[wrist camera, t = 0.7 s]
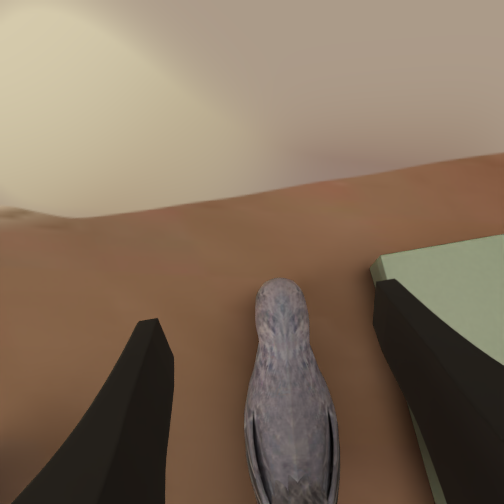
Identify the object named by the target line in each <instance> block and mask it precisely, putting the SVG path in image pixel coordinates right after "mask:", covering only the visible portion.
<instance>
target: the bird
mask: <svg viewBox="0 0 504 504" xmlns="http://www.w3.org/2000/svg"><path fill="white" fill-rule="evenodd" d="M255 322H256V329H257V333H258V337H259V344H258V349H257V355H256V360H255V365H254V369H253V372H252V375H251V379H250V382H249V387H248V393H247V399H246V404H245V411H244V431H245V446H246V457H247V463H248V469H249V475H250V478H251V482H252V486H253V490H254V493H255V497H256V501H257V504H337V500H338V490H339V480H340V447H339V435H338V424H337V418H336V412H335V407H334V404H333V401H332V398H331V395H330V392H329V389H328V387H327V384H326V382H325V379H324V377H323V376H322V374H321V372H320V370H319V368H318V365H317V362H316V360H315V357H314V354H313V351H312V349H311V346H310V344H309V316H308V310H307V306H306V301H305V298H304V295H303V292H302V290H301V289H300V287H299V286H298V285H297V284H296V283H295V282H294V281H292V280H290V279H286V278H274V279H271V280H269V281H267V282H265V283H264V284H263V285H262V286H261V288H260V289H259V291H258V293H257V295H256V305H255Z"/></svg>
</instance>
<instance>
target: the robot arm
mask: <svg viewBox="0 0 504 504" xmlns="http://www.w3.org/2000/svg"><path fill="white" fill-rule="evenodd" d="M373 326H374V329H375V332H376V335H377V338H378V341H379V344H380V346H381V349H382V352H383V354H384V356H385V358H386V360H387V362H388V364H389V366H390V368H391V371H392V373H393V375H394V377H395V379H396V381H397V383H398V385H399V387H400V389H401V391H402V393H403V395H404V397H405V399H406V401H407V403H408V405H409V407H410V409H411V411H412V413H413V415H414V417H415V420H416V422H417V424H418V426H419V429H420V431H421V434H422V437H423V439H424V442H425V445H426V447H427V450H428V452H429V455H430V458H431V461H432V463H433V466H434V469H435V472H436V474H437V477H438V480H439V483H440V485H441V488H442V491H443V494H444V497H445V500H446V503H447V504H504V365H503V364H501V363H500V362H498V361H496V360H495V359H493V358H492V357H490V356H489V355H488V354H486V353H485V352H483V351H482V350H480V349H479V348H478V347H476V346H475V345H474V344H472V343H471V342H470V341H468V340H467V339H466V338H464V337H463V336H462V335H460V334H459V333H458V332H456V331H455V330H454V329H453V328H451V327H450V326H449V325H448V324H446V323H445V322H444V321H443V320H442V319H440V318H439V317H438V316H437V315H436V314H434V313H433V312H432V311H431V310H430V309H429V308H427V307H426V306H425V305H424V304H423V303H422V302H421V301H420V300H418V299H417V298H416V297H415V296H414V295H413V294H412V293H411V292H410V291H408V290H407V289H406V288H405V287H404V286H403V285H402V284H401V283H400V282H399V281H398V280H396V279H395V278H394V279H388V280H382V281H376V289H375V301H374V314H373ZM173 392H174V356H173V354H172V351H171V349H170V347H169V344H168V342H167V339H166V337H165V335H164V332H163V330H162V328H161V325H160V323H159V320H158V318H155V319H149V320H143V321H139V322H138V323H137V325H136V327H135V329H134V331H133V333H132V335H131V337H130V339H129V341H128V342H127V344H126V346H125V348H124V350H123V352H122V354H121V356H120V357H119V359H118V361H117V363H116V365H115V366H114V368H113V370H112V372H111V373H110V375H109V377H108V378H107V380H106V382H105V384H104V385H103V387H102V388H101V390H100V391H99V393H98V395H97V396H96V398H95V399H94V401H93V402H92V404H91V406H90V407H89V409H88V410H87V412H86V413H85V414H84V416H83V417H82V419H81V420H80V422H79V423H78V424H77V426H76V427H75V429H74V430H73V431H72V433H71V434H70V435H69V437H68V438H67V439H66V441H65V442H64V443H63V444H62V446H61V447H60V448H59V449H58V451H57V452H56V453H55V454H54V456H53V457H52V458H51V459H50V461H49V462H48V463H47V464H46V465H45V467H44V468H43V469H42V470H41V471H40V472H39V474H38V475H37V476H36V477H35V478H34V479H33V480H32V481H31V482H30V483H29V485H28V486H27V487H26V488H25V489H24V490H23V491H22V492H21V493H20V494H19V496H18V497H17V498H16V499H15V500H14V501H13V502H12V503H11V504H165V468H166V455H167V446H168V437H169V428H170V420H171V411H172V402H173Z"/></svg>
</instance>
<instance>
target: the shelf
mask: <svg viewBox="0 0 504 504" xmlns="http://www.w3.org/2000/svg"><path fill="white" fill-rule="evenodd" d="M370 271H371V275H372V279H373V282H374V286H375V289H376V281H382V280H388V279H394V278H395V279H396V280H398V281H399V282H400V283H401V284H402V285H403V286H404V287H405V288H406V289H407V290H408V291H410V292H411V293H412V294H413V295H414V296H415V297H416V298H417V299H418V300H420V301H421V302H422V303H423V304H424V305H425V306H426V307H427V308H429V309H430V310H431V311H432V312H433V313H434V314H436V315H437V316H438V317H439V318H440V319H442V320H443V321H444V322H445V323H446V324H448V325H449V326H450V327H451V328H453V329H454V330H455V331H456V332H458V333H459V334H460V335H462V336H463V337H464V338H466V339H467V340H468V341H470V342H471V343H472V344H474V345H475V346H476V347H478V348H479V349H480V350H482V351H483V352H485V353H486V354H488V355H489V356H490V357H492V358H493V359H495V360H496V361H498V362H500V363H501V364H503V365H504V234H501V235H495V236H489V237H484V238H478V239H472V240H466V241H460V242H455V243H449V244H443V245H437V246H431V247H426V248H420V249H414V250H408V251H403V252H397V253H391V254H385V255H380V256H379V258H378V259H377V260H376V261H375V262H374V263H373V264H372V266H371V267H370ZM407 404H408V403H407ZM408 408H409V411H410V415H411V418H412V422H413V426H414V429H415V433H416V436H417V440H418V443H419V447H420V451H421V454H422V458H423V461H424V465H425V469H426V472H427V476H428V479H429V483H430V487H431V490H432V494H433V497H434V501H435V504H447V503H446V500H445V497H444V494H443V491H442V488H441V485H440V483H439V480H438V477H437V474H436V472H435V469H434V466H433V463H432V461H431V458H430V455H429V452H428V450H427V447H426V445H425V442H424V439H423V437H422V434H421V431H420V429H419V426H418V424H417V422H416V420H415V417H414V415H413V413H412V411H411V409H410V407H409V405H408Z"/></svg>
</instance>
